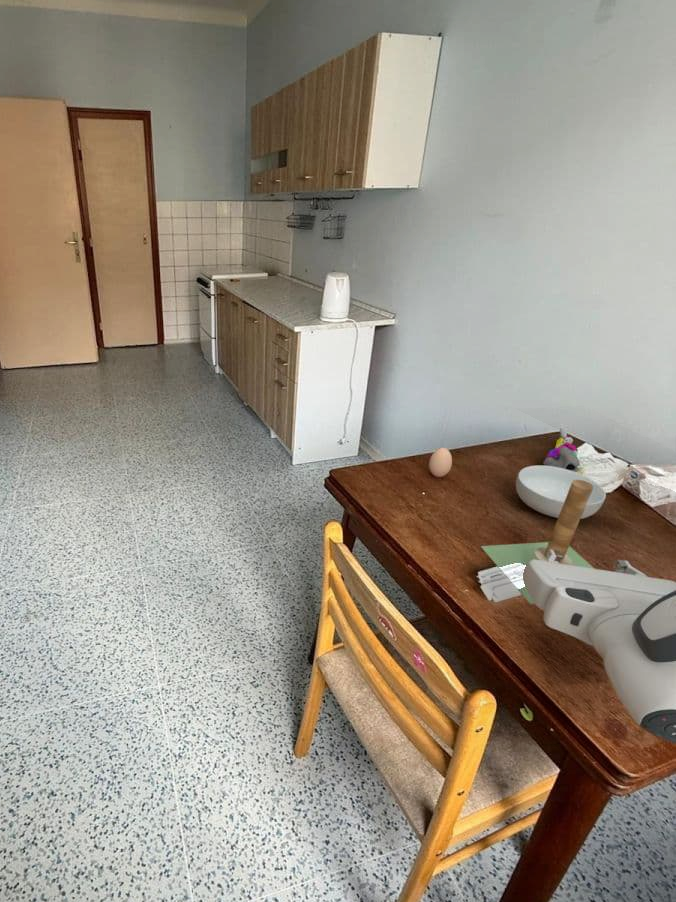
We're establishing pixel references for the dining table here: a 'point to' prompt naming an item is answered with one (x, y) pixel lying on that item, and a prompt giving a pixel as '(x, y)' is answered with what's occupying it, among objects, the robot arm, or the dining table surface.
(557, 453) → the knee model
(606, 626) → the robot arm
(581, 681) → the dining table surface
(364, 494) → the dining table surface
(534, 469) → the cereal bowl
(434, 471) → the egg
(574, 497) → the dish brush
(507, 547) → the mat
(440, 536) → the dining table surface
